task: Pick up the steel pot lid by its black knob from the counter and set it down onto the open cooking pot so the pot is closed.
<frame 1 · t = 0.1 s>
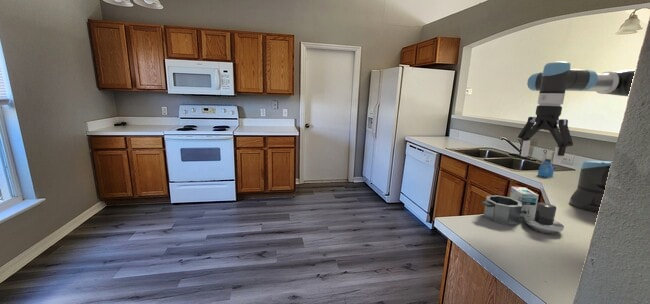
hand: (539, 160, 106), 28 cm above the worktop, fingers open, 13 cm apart
perfume bottle: (545, 176, 186), on the worktop
light bulb box: (520, 213, 124), on the worktop
lid: (542, 228, 109), on the worktop
pot: (500, 218, 118), on the worktop
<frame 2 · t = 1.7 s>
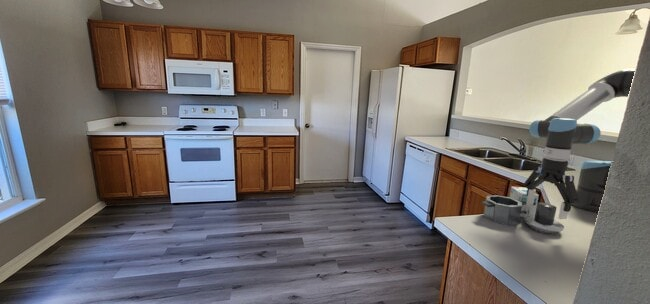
hand: (544, 211, 107), 8 cm above the worktop, fingers open, 13 cm apart
nothing on the worktop moved.
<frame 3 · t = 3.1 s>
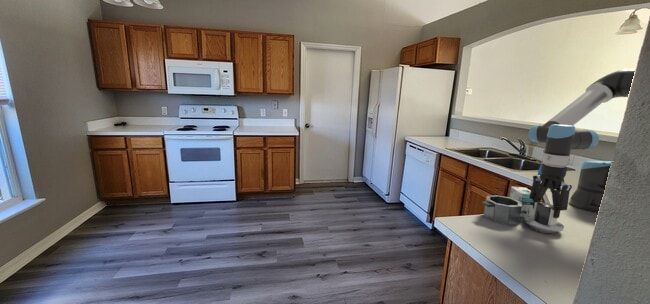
hand: (543, 220, 108), 3 cm above the worktop, fingers closed on lid, 6 cm apart
lid: (542, 228, 109), on the worktop, touching gripper
everything else where it was.
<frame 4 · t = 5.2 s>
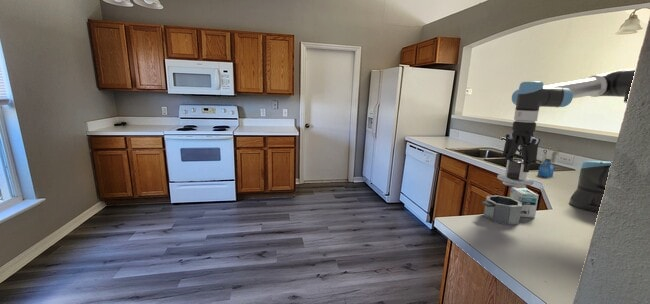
hand: (515, 177, 112), 19 cm above the worktop, fingers closed on lid, 6 cm apart
lid: (513, 184, 113), point 16 cm above the worktop, touching gripper
everything else where it was.
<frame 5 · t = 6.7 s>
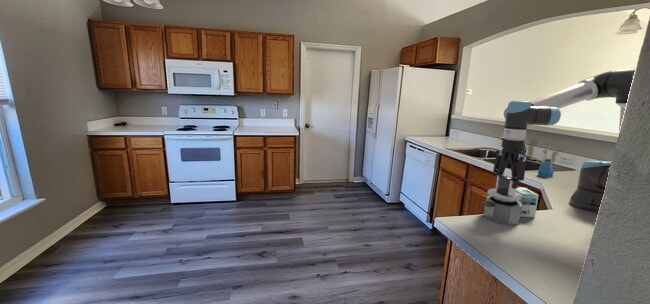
hand: (504, 192, 116), 12 cm above the worktop, fingers closed on lid, 6 cm apart
lid: (503, 199, 116), point 8 cm above the worktop, touching gripper
everything else where it was.
when the fingers open (11 cm above the worktop, at t = 7.6 s): lid drops 1 cm, resting on pot.
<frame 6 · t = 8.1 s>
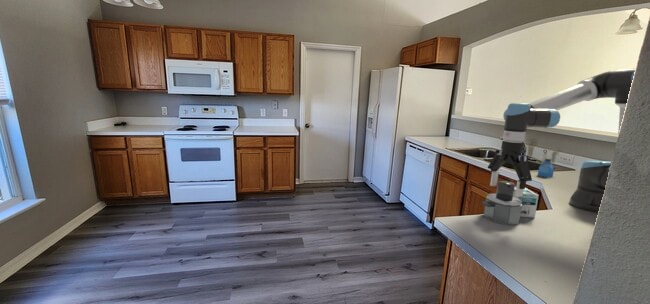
hand: (505, 190, 115), 13 cm above the worktop, fingers open, 13 cm apart
lid: (502, 205, 117), point 6 cm above the worktop, touching pot
everything else where it was.
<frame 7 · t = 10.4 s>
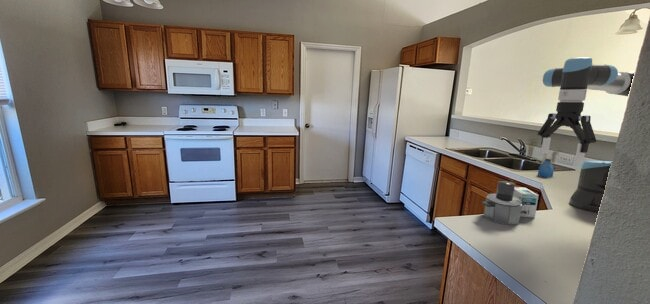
hand: (560, 157, 105), 29 cm above the worktop, fingers open, 13 cm apart
nothing on the worktop moved.
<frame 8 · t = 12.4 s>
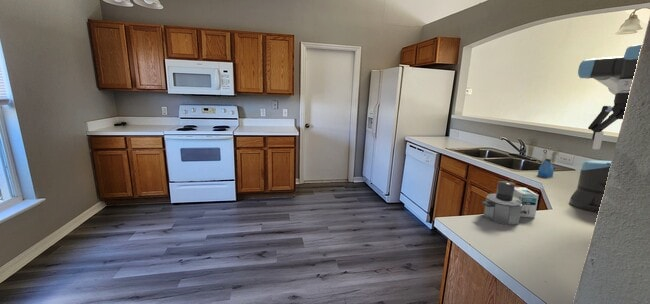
hand: (617, 152, 97), 33 cm above the worktop, fingers open, 13 cm apart
nothing on the worktop moved.
at the end: lid 0.0 cm off-centre on the pot, point 6.0 cm above the pot's base; lid tilted 0°; the gripper is holding nothing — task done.
